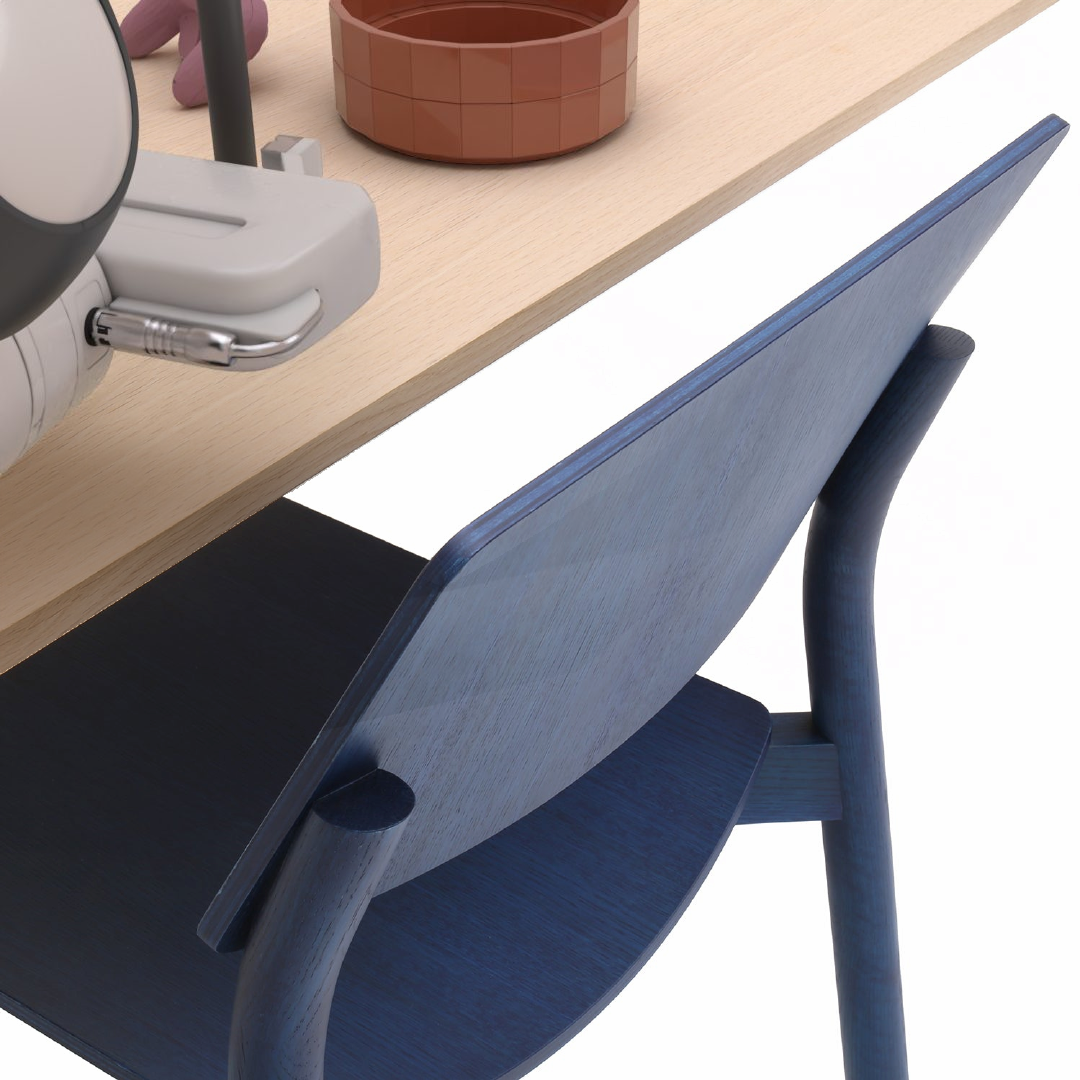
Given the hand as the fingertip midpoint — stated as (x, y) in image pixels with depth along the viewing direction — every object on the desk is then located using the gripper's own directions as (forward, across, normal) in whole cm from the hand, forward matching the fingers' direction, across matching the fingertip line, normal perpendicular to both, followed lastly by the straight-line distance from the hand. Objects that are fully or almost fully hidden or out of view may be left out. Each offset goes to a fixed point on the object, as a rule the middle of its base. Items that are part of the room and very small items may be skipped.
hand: (185, 138), depth 61 cm
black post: (+3, 0, +9) cm, 9 cm away
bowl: (+27, -1, +9) cm, 29 cm away
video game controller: (+27, +15, +9) cm, 32 cm away
